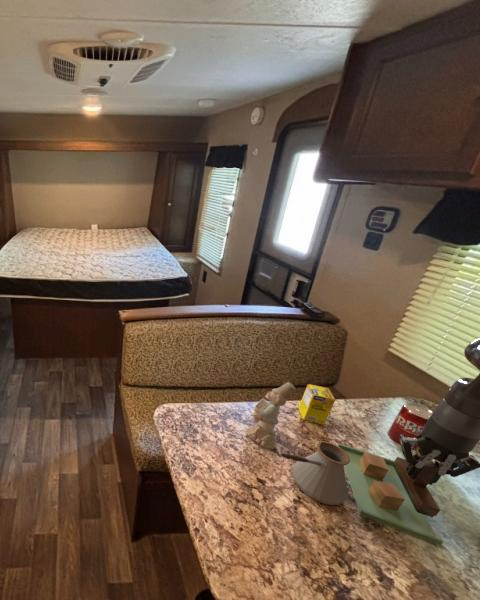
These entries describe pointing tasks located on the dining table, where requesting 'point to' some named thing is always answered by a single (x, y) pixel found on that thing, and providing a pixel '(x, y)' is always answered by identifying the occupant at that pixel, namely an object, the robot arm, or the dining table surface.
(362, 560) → the dining table surface
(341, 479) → the coffee pot
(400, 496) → the cork cube
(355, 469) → the tray
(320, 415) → the supplement box
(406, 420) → the soda can
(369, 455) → the cork cube
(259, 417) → the figurine
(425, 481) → the brown wooden t-shape
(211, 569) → the dining table surface
